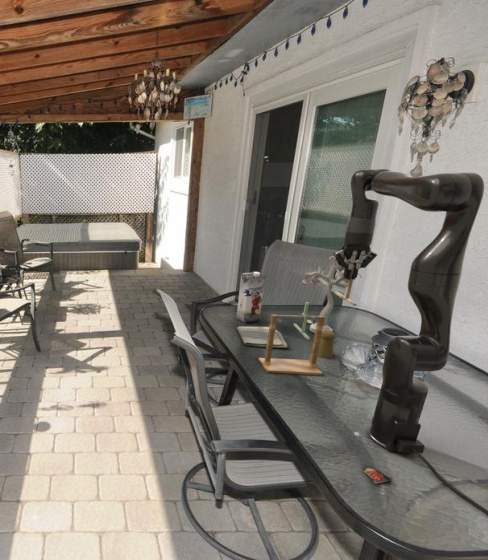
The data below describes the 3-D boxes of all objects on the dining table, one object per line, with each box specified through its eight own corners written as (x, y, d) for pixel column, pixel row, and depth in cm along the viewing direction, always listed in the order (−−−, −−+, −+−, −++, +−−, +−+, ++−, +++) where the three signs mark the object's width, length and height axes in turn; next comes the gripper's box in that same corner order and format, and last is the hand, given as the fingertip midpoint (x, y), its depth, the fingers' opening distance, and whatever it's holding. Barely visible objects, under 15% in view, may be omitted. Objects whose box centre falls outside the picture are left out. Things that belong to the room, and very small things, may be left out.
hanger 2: (356, 305, 121) (365, 270, 117) (353, 305, 121) (362, 270, 117) (336, 293, 132) (343, 260, 128) (333, 293, 133) (340, 260, 128)
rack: (322, 375, 136) (333, 321, 129) (267, 372, 139) (275, 320, 132) (309, 362, 145) (319, 311, 139) (258, 359, 148) (265, 310, 142)
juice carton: (233, 318, 190) (239, 270, 182) (249, 315, 193) (255, 268, 185) (245, 324, 182) (252, 274, 174) (262, 321, 185) (268, 272, 177)
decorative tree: (280, 318, 188) (291, 245, 177) (326, 319, 186) (341, 244, 174) (307, 342, 162) (323, 258, 150) (362, 343, 160) (382, 257, 148)
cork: (335, 358, 147) (340, 335, 144) (319, 357, 149) (324, 334, 145) (328, 351, 153) (333, 328, 150) (313, 350, 154) (317, 327, 151)
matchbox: (392, 479, 90) (392, 478, 90) (380, 486, 88) (380, 485, 88) (371, 466, 94) (371, 465, 94) (359, 473, 92) (359, 471, 92)
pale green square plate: (244, 346, 160) (244, 339, 159) (236, 329, 176) (237, 323, 176) (289, 349, 156) (290, 343, 155) (277, 332, 172) (278, 326, 171)
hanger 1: (310, 340, 132) (316, 309, 128) (307, 339, 132) (313, 309, 128) (295, 325, 143) (301, 296, 139) (293, 325, 143) (298, 296, 139)
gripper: (344, 232, 117) (335, 282, 122) (389, 232, 115) (377, 282, 120) (332, 228, 124) (323, 275, 129) (374, 228, 122) (363, 276, 127)
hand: (349, 278), depth 124 cm, fingers closed on hanger 2, 1 cm apart
